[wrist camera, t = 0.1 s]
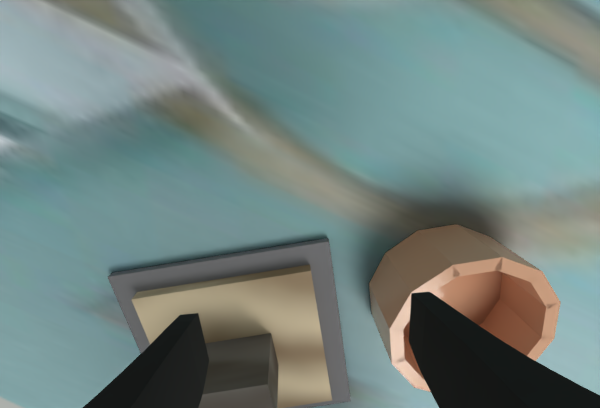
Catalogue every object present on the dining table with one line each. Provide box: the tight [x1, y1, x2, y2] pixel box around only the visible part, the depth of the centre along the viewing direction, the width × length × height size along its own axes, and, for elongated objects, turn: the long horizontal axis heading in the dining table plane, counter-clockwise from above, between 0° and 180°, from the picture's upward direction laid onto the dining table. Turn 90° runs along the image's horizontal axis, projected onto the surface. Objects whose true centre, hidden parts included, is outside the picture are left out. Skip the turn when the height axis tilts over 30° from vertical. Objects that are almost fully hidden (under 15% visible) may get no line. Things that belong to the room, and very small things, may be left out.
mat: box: [108, 238, 351, 408], centre depth 22 cm, size 15×15×1 cm
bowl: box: [369, 224, 560, 392], centre depth 20 cm, size 10×10×4 cm
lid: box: [131, 265, 332, 408], centre depth 20 cm, size 12×12×5 cm
